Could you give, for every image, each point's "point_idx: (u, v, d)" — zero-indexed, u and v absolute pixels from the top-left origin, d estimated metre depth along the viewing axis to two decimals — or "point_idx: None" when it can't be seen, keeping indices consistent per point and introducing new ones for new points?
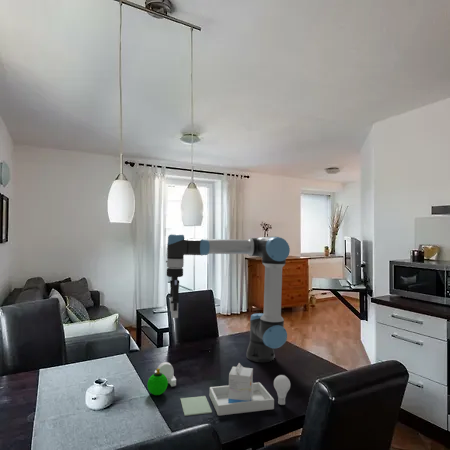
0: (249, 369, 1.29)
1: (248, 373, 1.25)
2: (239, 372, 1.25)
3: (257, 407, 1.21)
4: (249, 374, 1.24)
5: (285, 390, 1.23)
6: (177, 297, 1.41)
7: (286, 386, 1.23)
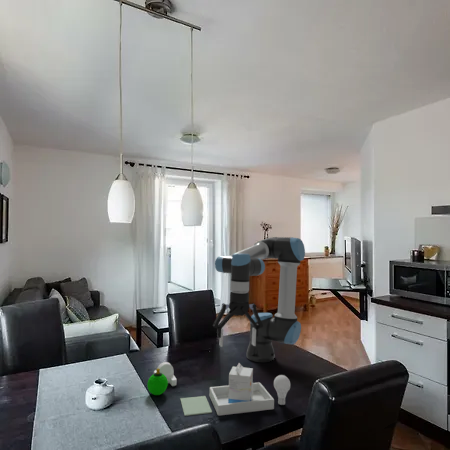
0: (249, 369, 1.29)
1: (248, 373, 1.25)
2: (239, 372, 1.25)
3: (257, 407, 1.21)
4: (249, 374, 1.24)
5: (285, 390, 1.23)
6: (215, 322, 1.28)
7: (286, 386, 1.23)
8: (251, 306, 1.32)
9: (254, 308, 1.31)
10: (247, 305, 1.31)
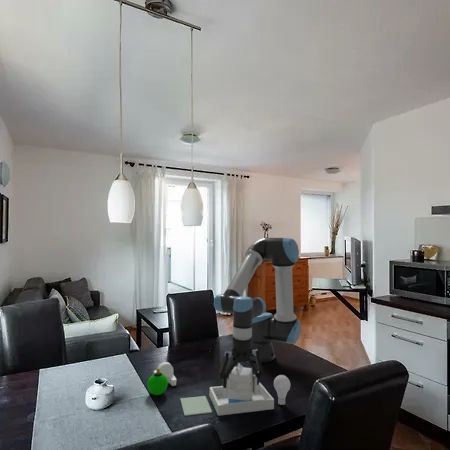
0: (249, 369, 1.29)
1: (248, 373, 1.25)
2: (239, 372, 1.25)
3: (257, 407, 1.21)
4: (249, 374, 1.24)
5: (285, 390, 1.23)
6: (220, 372, 1.24)
7: (286, 386, 1.23)
8: (254, 352, 1.28)
9: (257, 355, 1.28)
10: (250, 351, 1.27)
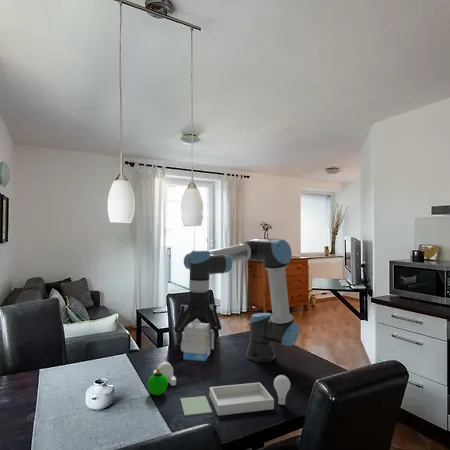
0: (207, 324, 1.26)
1: (205, 326, 1.22)
2: (195, 326, 1.22)
3: (257, 407, 1.21)
4: (205, 327, 1.21)
5: (285, 390, 1.23)
6: (175, 325, 1.21)
7: (286, 386, 1.23)
8: (211, 306, 1.25)
9: (214, 309, 1.25)
10: (207, 305, 1.24)
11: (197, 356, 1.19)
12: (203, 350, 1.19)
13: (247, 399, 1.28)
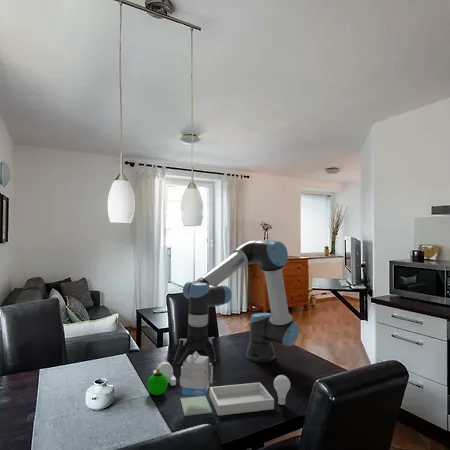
0: (205, 357, 1.25)
1: (204, 361, 1.22)
2: (194, 360, 1.21)
3: (257, 407, 1.21)
4: (204, 362, 1.21)
5: (285, 390, 1.23)
6: (174, 360, 1.21)
7: (286, 386, 1.23)
8: (210, 340, 1.25)
9: (213, 342, 1.24)
10: (206, 338, 1.24)
11: (196, 391, 1.19)
12: (202, 385, 1.19)
13: (247, 399, 1.28)
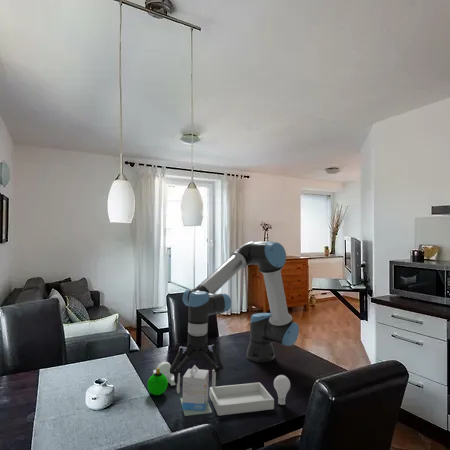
0: (205, 371, 1.26)
1: (203, 375, 1.22)
2: (194, 374, 1.21)
3: (257, 407, 1.21)
4: (204, 376, 1.21)
5: (285, 390, 1.23)
6: (171, 367, 1.20)
7: (286, 386, 1.23)
8: (210, 348, 1.25)
9: (213, 350, 1.24)
10: (206, 347, 1.24)
11: (196, 406, 1.19)
12: (202, 400, 1.19)
13: (247, 399, 1.28)
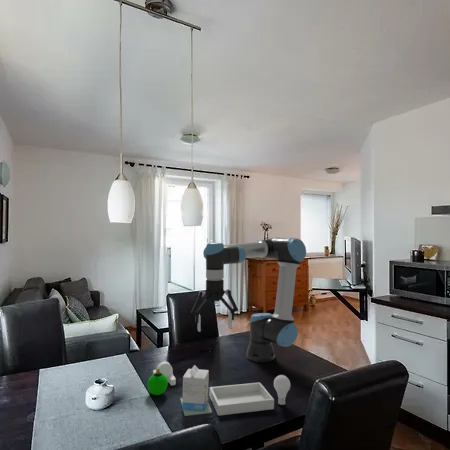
0: (205, 371, 1.26)
1: (203, 375, 1.22)
2: (194, 374, 1.21)
3: (257, 407, 1.21)
4: (204, 376, 1.21)
5: (285, 390, 1.23)
6: (193, 308, 1.35)
7: (286, 386, 1.23)
8: (226, 292, 1.40)
9: (229, 294, 1.39)
10: (222, 291, 1.38)
11: (196, 406, 1.19)
12: (202, 400, 1.19)
13: (247, 399, 1.28)
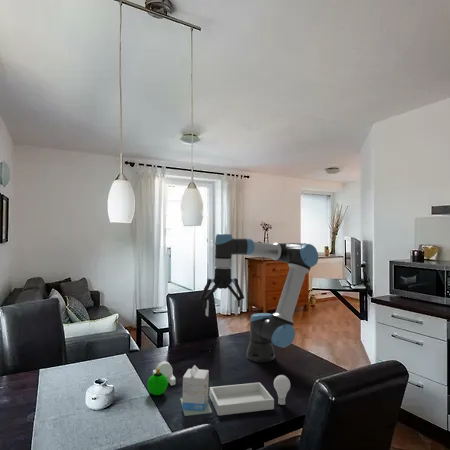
0: (205, 371, 1.26)
1: (203, 375, 1.22)
2: (194, 374, 1.21)
3: (257, 407, 1.21)
4: (204, 376, 1.21)
5: (285, 390, 1.23)
6: (202, 294, 1.44)
7: (286, 386, 1.23)
8: (233, 280, 1.48)
9: (236, 282, 1.48)
10: (230, 279, 1.47)
11: (196, 406, 1.19)
12: (202, 400, 1.19)
13: (247, 399, 1.28)
